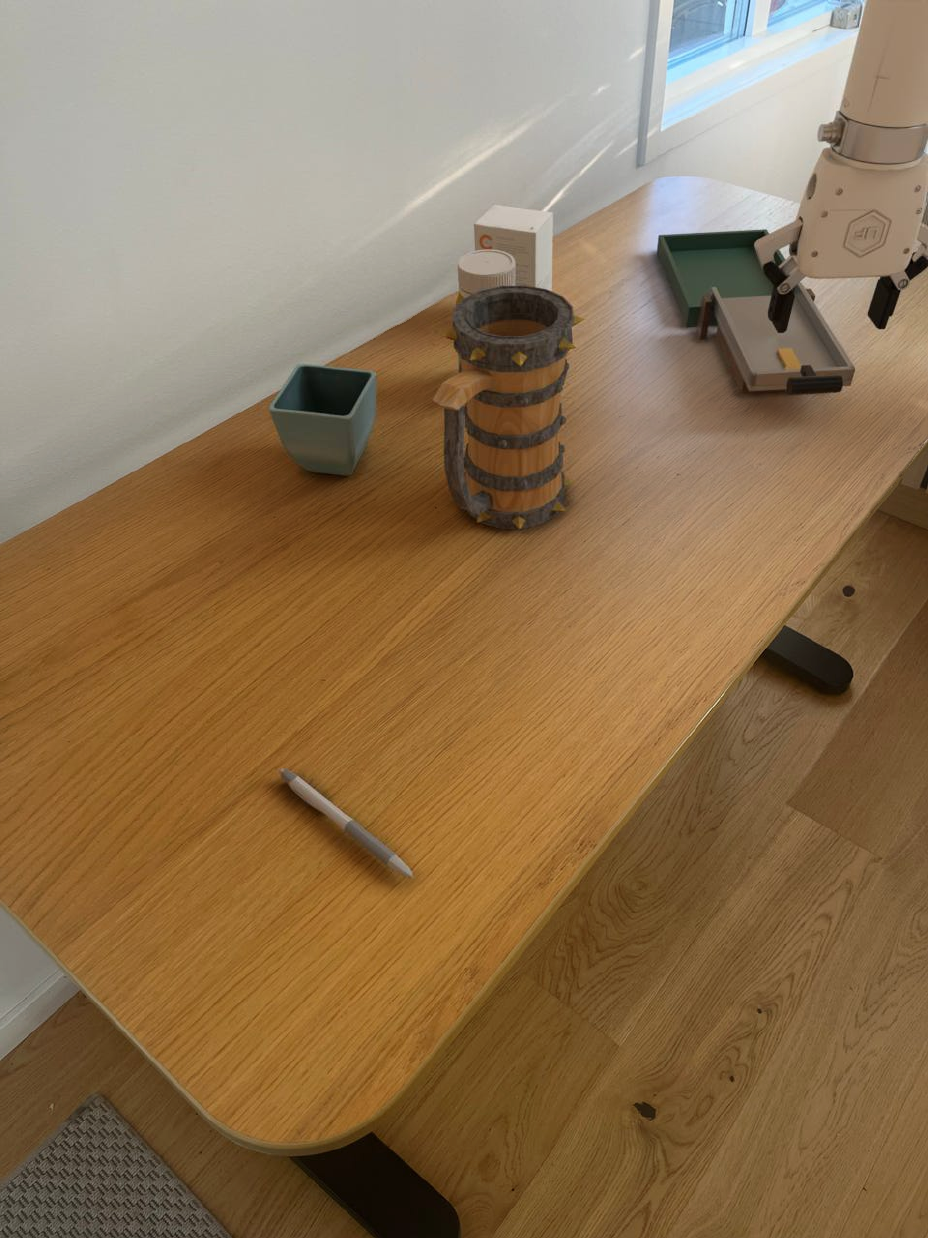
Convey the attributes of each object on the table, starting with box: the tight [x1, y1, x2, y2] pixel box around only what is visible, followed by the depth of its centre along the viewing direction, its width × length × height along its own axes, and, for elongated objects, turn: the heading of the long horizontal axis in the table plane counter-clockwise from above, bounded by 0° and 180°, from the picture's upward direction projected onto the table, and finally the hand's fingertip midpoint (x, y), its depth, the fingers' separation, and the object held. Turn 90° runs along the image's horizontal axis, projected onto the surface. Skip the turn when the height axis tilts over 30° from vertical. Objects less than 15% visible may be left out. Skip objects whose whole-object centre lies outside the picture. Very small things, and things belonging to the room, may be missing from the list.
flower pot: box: [268, 363, 377, 477], centre depth 95 cm, size 9×9×9 cm
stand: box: [696, 288, 816, 394], centre depth 108 cm, size 14×13×5 cm
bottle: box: [455, 249, 515, 365], centre depth 102 cm, size 7×7×15 cm
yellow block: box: [777, 348, 801, 370], centre depth 101 cm, size 6×2×1 cm, turn 2°
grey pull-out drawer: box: [710, 281, 857, 396], centre depth 103 cm, size 24×11×3 cm, turn 2°
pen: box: [278, 767, 414, 879], centre depth 67 cm, size 1×14×1 cm, turn 48°
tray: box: [656, 228, 801, 328], centre depth 122 cm, size 21×15×3 cm
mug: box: [432, 285, 586, 530], centre depth 85 cm, size 13×17×20 cm
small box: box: [473, 204, 554, 291], centre depth 114 cm, size 8×6×13 cm
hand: (826, 324), depth 89 cm, fingers open, 9 cm apart
